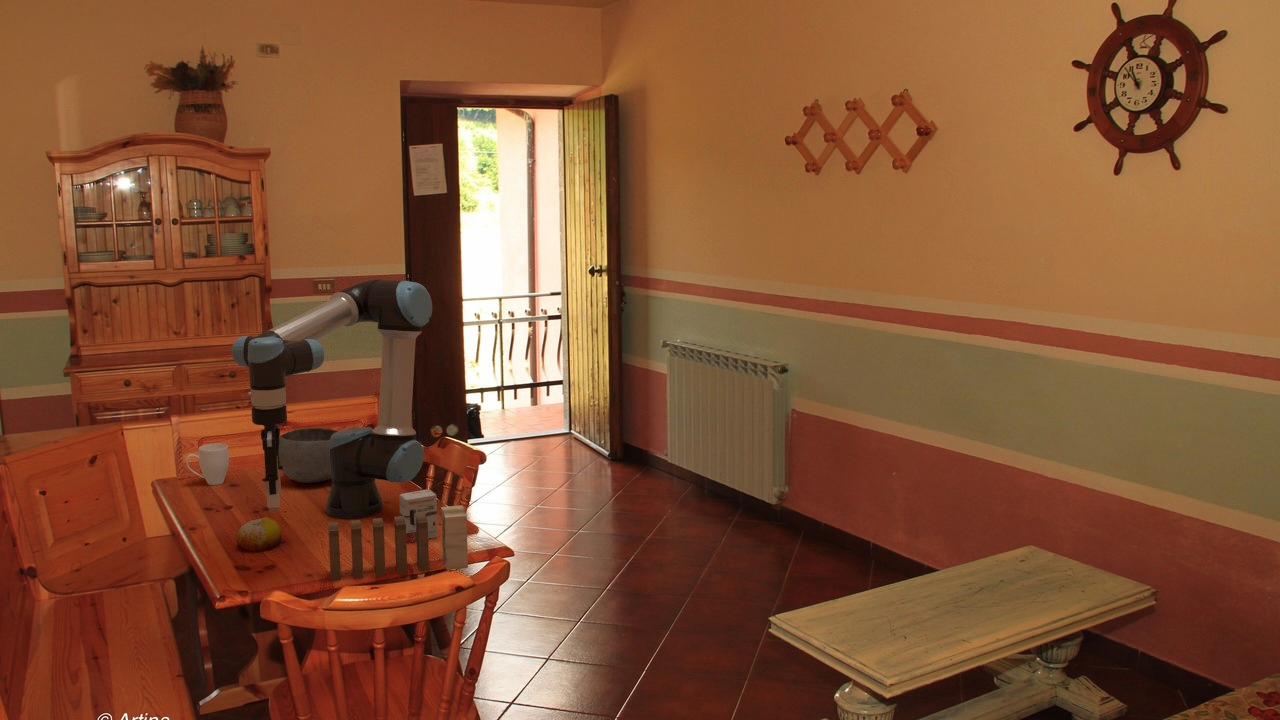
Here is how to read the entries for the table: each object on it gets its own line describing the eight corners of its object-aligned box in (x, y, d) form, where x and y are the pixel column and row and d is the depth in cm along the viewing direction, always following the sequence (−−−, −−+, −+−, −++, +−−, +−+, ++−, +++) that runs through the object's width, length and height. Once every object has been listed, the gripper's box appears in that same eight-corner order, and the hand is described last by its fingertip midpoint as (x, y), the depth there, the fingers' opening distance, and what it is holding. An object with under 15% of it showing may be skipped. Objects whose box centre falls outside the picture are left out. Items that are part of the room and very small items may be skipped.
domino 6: (417, 562, 239) (415, 514, 237) (426, 561, 240) (425, 514, 238) (419, 571, 234) (418, 522, 232) (429, 570, 234) (427, 522, 232)
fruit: (244, 535, 255) (252, 507, 254) (283, 547, 255) (291, 519, 254) (226, 550, 244) (233, 520, 243) (266, 562, 244) (274, 533, 243)
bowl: (336, 491, 293) (334, 442, 290) (267, 490, 293) (264, 441, 290) (356, 471, 313) (354, 425, 311) (292, 470, 313) (289, 424, 311)
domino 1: (270, 504, 233) (267, 455, 231) (280, 503, 234) (277, 454, 232) (269, 512, 227) (266, 462, 225) (279, 511, 228) (276, 461, 226)
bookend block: (442, 558, 242) (441, 507, 240) (463, 555, 244) (462, 505, 241) (446, 570, 235) (445, 517, 232) (467, 567, 236) (466, 515, 234)
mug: (227, 477, 305) (224, 441, 303) (233, 484, 299) (230, 447, 297) (185, 483, 299) (182, 447, 297) (190, 490, 292) (187, 453, 290)
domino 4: (374, 566, 236) (372, 518, 234) (383, 565, 237) (382, 517, 235) (375, 576, 231) (374, 527, 229) (385, 575, 231) (383, 526, 229)
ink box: (406, 543, 251) (405, 499, 249) (399, 537, 256) (398, 493, 253) (438, 537, 256) (437, 493, 254) (431, 531, 260) (429, 488, 258)
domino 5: (395, 564, 238) (394, 516, 236) (405, 563, 238) (403, 515, 236) (397, 573, 232) (396, 525, 230) (407, 572, 233) (405, 524, 231)
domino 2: (330, 571, 233) (328, 522, 231) (340, 570, 234) (338, 521, 232) (330, 581, 228) (328, 531, 225) (340, 579, 228) (338, 530, 226)
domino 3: (352, 569, 235) (350, 520, 233) (362, 568, 235) (360, 519, 233) (353, 578, 229) (351, 529, 227) (363, 577, 230) (361, 528, 228)
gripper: (253, 397, 234) (259, 491, 238) (248, 415, 216) (254, 517, 220) (287, 396, 236) (292, 489, 240) (284, 413, 218) (290, 513, 223)
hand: (274, 502), depth 230 cm, fingers closed on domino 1, 6 cm apart
